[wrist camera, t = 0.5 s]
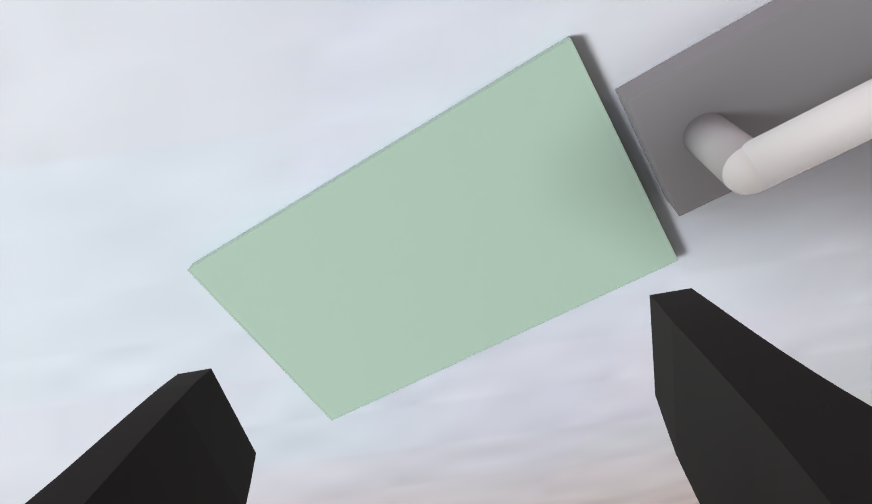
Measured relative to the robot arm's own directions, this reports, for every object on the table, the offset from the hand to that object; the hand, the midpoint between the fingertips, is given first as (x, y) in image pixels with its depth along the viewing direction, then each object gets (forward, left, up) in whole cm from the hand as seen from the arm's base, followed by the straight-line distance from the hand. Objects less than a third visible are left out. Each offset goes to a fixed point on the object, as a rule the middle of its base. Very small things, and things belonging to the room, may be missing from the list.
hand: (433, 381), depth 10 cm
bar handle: (-5, -11, -10) cm, 15 cm away
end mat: (-3, +2, -10) cm, 10 cm away
